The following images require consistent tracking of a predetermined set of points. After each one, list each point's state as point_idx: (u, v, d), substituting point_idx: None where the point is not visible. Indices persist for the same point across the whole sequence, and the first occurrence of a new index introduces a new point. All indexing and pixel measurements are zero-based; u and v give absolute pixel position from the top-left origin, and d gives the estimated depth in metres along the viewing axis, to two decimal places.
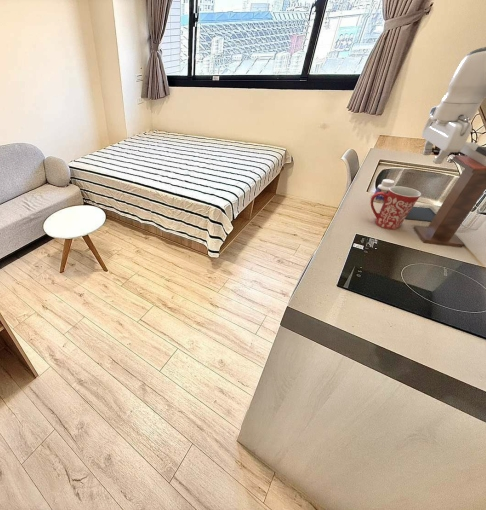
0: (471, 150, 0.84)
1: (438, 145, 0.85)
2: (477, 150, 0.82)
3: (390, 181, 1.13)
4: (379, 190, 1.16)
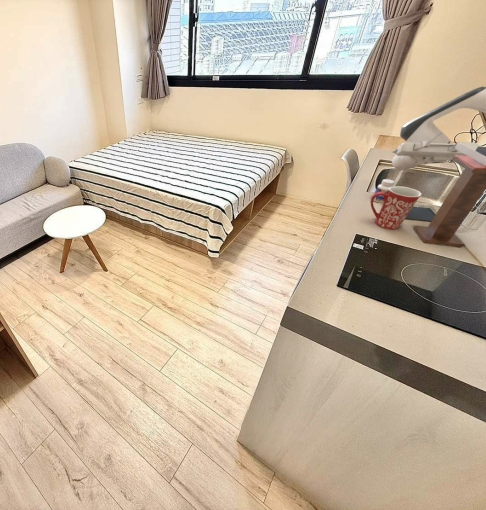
0: (471, 150, 0.84)
1: (418, 152, 1.06)
2: (477, 150, 0.82)
3: (390, 181, 1.13)
4: (379, 190, 1.16)
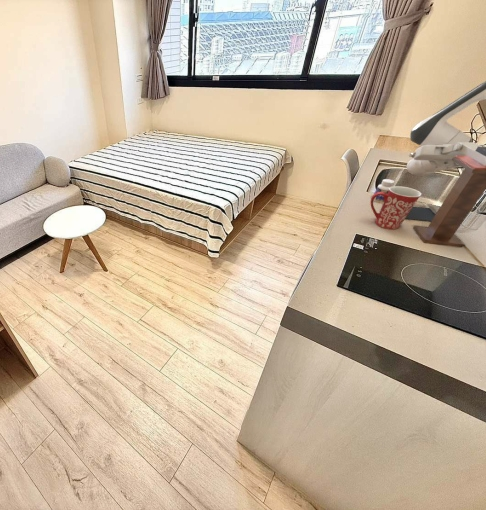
0: (471, 150, 0.84)
1: (439, 156, 0.94)
2: (477, 150, 0.82)
3: (390, 181, 1.13)
4: (379, 190, 1.16)
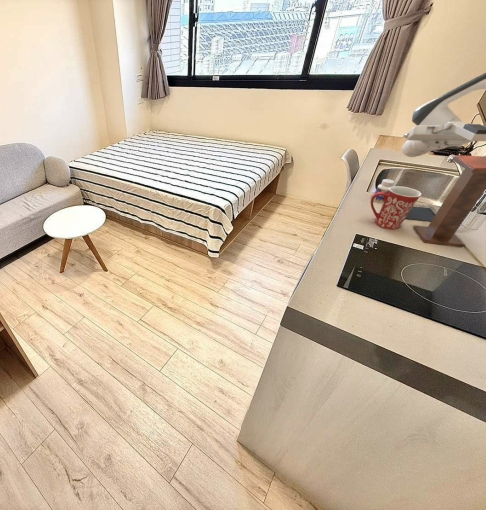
0: (459, 128, 0.90)
1: (431, 135, 1.00)
2: (464, 127, 0.88)
3: (390, 181, 1.13)
4: (379, 190, 1.16)
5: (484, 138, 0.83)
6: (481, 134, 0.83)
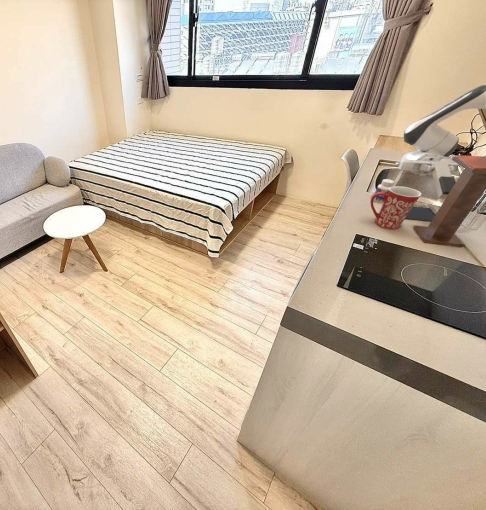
0: (436, 177, 0.99)
1: (417, 171, 1.08)
2: (439, 179, 0.98)
3: (390, 181, 1.13)
4: (379, 190, 1.16)
5: None
6: (447, 194, 0.94)
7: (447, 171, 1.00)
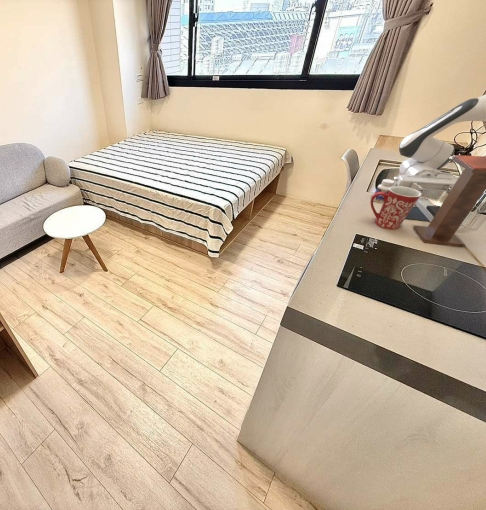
0: (423, 207, 1.08)
1: None
2: (427, 208, 1.06)
3: (390, 181, 1.13)
4: (379, 190, 1.16)
5: None
6: None
7: (430, 204, 1.10)
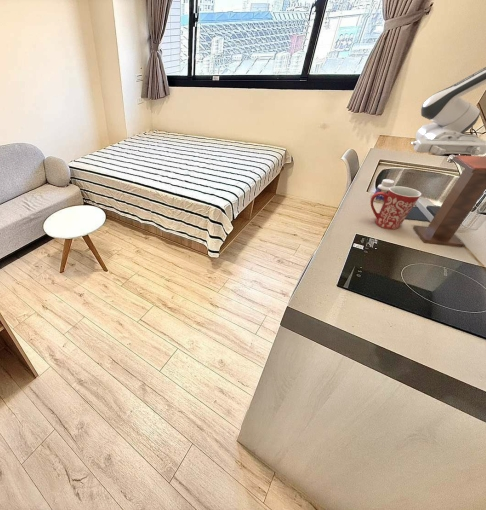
0: (423, 207, 1.08)
1: (433, 152, 1.04)
2: (427, 208, 1.06)
3: (390, 181, 1.13)
4: (379, 190, 1.16)
5: None
6: None
7: (430, 204, 1.10)
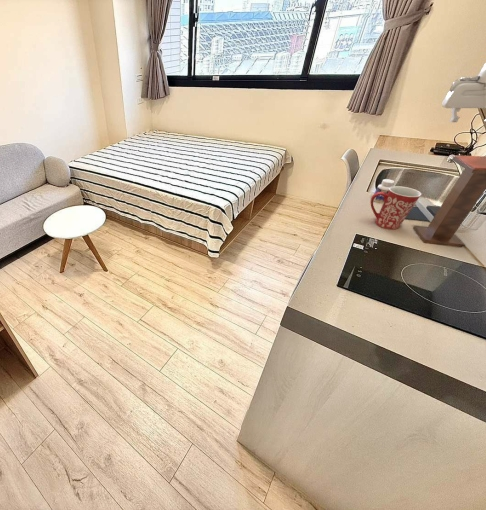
0: (423, 207, 1.08)
1: None
2: (427, 208, 1.06)
3: (390, 181, 1.13)
4: (379, 190, 1.16)
5: None
6: None
7: (430, 204, 1.10)
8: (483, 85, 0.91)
